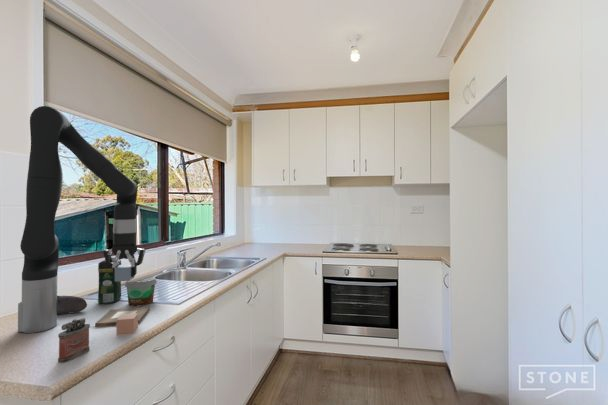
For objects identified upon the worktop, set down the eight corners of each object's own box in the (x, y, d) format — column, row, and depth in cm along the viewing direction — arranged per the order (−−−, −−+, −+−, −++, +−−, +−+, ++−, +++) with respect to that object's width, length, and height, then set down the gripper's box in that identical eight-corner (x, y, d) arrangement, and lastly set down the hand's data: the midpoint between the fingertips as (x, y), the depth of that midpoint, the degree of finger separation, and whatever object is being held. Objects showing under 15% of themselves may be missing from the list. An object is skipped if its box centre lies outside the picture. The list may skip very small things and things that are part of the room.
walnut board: (95, 326, 105) (95, 323, 105) (110, 312, 119) (110, 309, 119) (139, 323, 108) (139, 319, 108) (149, 310, 122) (149, 306, 122)
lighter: (83, 348, 90) (84, 314, 90) (92, 350, 89) (93, 315, 89) (54, 361, 82) (55, 324, 82) (63, 363, 81) (64, 326, 81)
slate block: (114, 281, 110) (114, 267, 110) (119, 278, 115) (119, 265, 115) (129, 280, 111) (129, 267, 111) (134, 277, 116) (134, 264, 116)
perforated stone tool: (89, 309, 122) (89, 292, 122) (83, 314, 117) (83, 296, 117) (46, 312, 119) (46, 294, 119) (37, 317, 113) (38, 298, 114)
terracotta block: (116, 335, 99) (116, 319, 99) (121, 329, 104) (122, 314, 104) (133, 333, 100) (133, 318, 100) (137, 327, 105) (138, 313, 105)
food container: (120, 308, 124) (120, 283, 124) (125, 303, 130) (125, 280, 130) (153, 305, 127) (153, 282, 127) (156, 301, 133) (156, 278, 133)
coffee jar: (103, 298, 137) (104, 256, 137) (123, 296, 139) (123, 256, 139) (94, 305, 127) (95, 260, 127) (116, 303, 129) (116, 260, 129)
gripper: (148, 230, 118) (148, 273, 118) (107, 230, 115) (107, 275, 115) (142, 232, 111) (142, 278, 111) (98, 232, 108) (98, 280, 108)
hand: (124, 276), depth 113 cm, fingers closed on slate block, 5 cm apart
